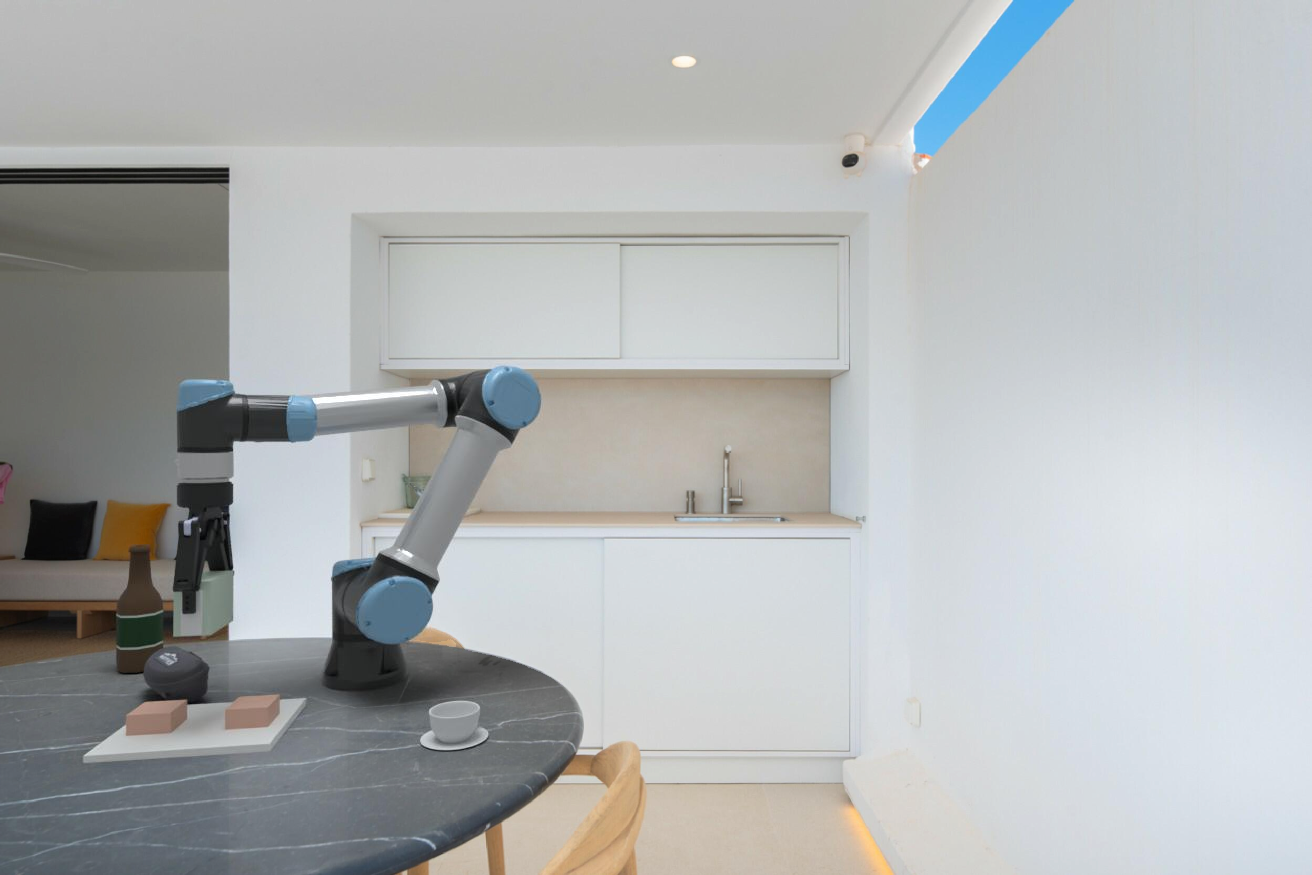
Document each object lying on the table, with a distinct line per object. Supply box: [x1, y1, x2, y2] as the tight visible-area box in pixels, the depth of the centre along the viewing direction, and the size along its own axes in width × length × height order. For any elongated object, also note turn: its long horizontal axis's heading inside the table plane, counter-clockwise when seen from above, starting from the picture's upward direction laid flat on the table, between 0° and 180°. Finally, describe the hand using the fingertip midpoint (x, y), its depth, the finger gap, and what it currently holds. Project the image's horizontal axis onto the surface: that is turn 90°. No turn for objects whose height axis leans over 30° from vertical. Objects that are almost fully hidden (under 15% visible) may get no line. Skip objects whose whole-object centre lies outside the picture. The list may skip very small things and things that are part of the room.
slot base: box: [82, 693, 307, 764], centre depth 120 cm, size 24×20×4 cm
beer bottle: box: [115, 544, 164, 674], centre depth 153 cm, size 8×8×24 cm
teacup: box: [419, 700, 490, 751], centre depth 117 cm, size 10×10×5 cm
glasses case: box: [143, 645, 211, 705], centre depth 136 cm, size 18×10×8 cm, turn 48°
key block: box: [172, 570, 234, 638], centre depth 120 cm, size 10×5×8 cm, turn 10°
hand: (205, 626), depth 120 cm, fingers closed on key block, 9 cm apart
